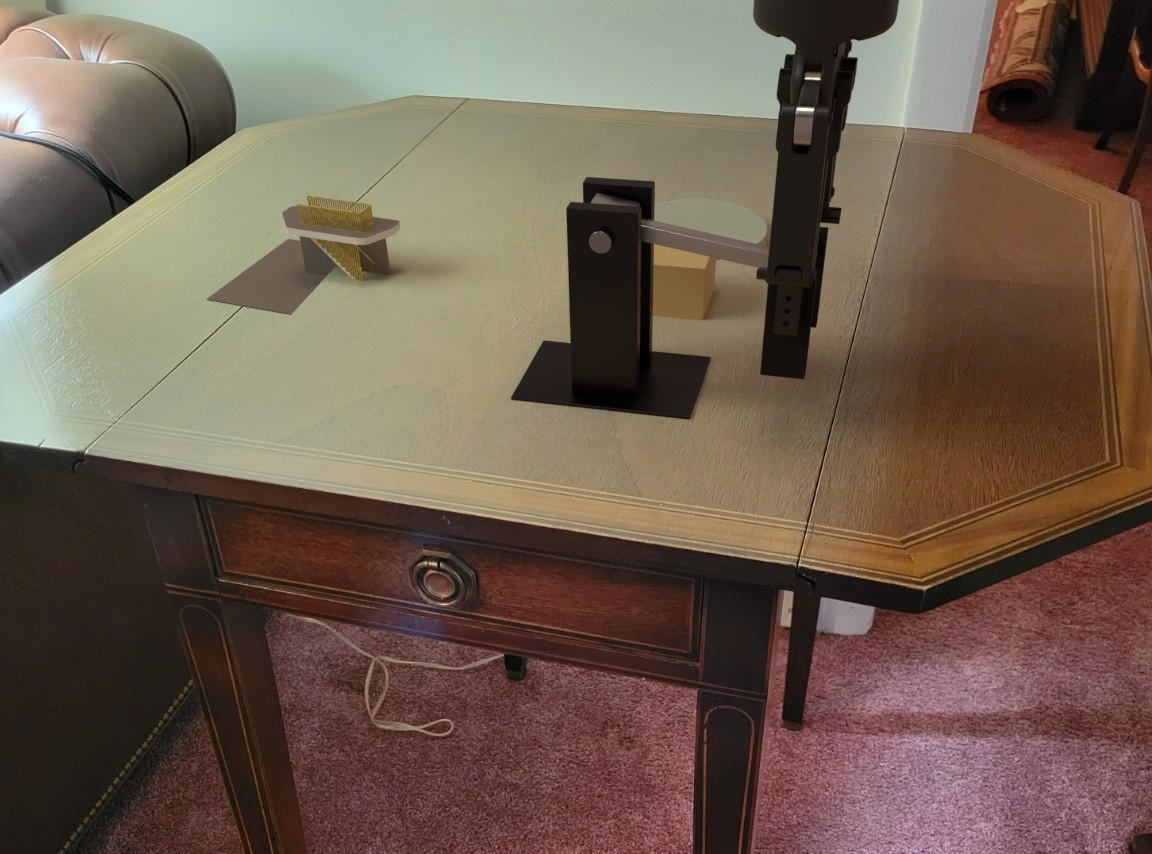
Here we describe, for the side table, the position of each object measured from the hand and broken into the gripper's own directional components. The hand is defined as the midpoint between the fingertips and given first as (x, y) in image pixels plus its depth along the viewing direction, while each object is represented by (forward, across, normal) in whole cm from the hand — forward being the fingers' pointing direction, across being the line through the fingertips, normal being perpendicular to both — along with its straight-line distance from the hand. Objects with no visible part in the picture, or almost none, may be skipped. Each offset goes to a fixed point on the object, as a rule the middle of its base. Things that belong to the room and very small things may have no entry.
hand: (789, 347), depth 77 cm
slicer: (+5, 0, -12) cm, 13 cm away
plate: (+5, -25, -10) cm, 28 cm away
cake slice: (+5, -12, -10) cm, 16 cm away
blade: (-5, 0, -6) cm, 8 cm away
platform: (+5, -12, -37) cm, 39 cm away
